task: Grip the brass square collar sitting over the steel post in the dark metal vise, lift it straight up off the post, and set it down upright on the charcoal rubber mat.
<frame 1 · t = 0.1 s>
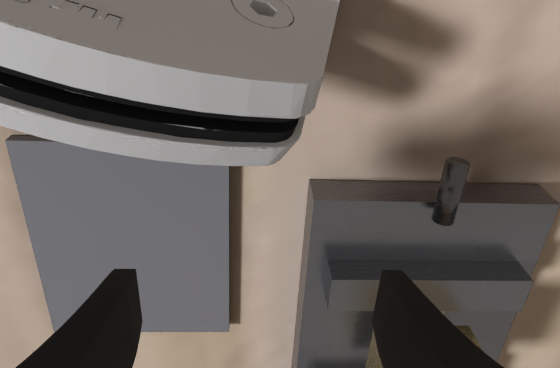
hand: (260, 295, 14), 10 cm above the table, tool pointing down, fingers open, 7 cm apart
mat: (134, 242, 25), on the table
collar: (412, 359, 25), point 3 cm above the table, touching vise
vise: (395, 311, 28), on the table
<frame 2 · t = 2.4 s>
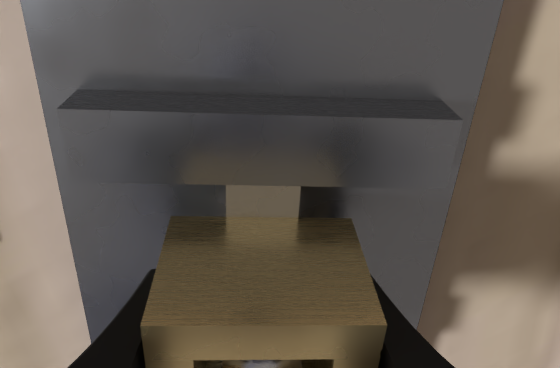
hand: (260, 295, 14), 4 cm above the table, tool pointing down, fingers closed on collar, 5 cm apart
collar: (259, 286, 14), point 3 cm above the table, touching gripper, vise
vise: (258, 221, 17), on the table
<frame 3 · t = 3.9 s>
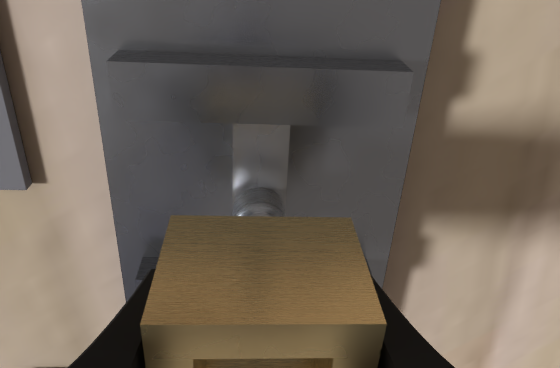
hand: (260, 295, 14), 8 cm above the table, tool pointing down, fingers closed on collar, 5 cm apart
collar: (259, 285, 14), point 8 cm above the table, touching gripper
vise: (258, 167, 21), on the table
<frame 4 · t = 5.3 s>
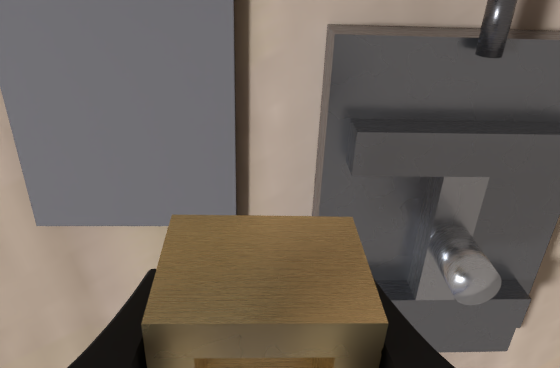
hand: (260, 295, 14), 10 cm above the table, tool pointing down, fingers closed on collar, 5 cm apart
mat: (125, 109, 21), on the table
collar: (260, 285, 14), point 10 cm above the table, touching gripper
vise: (425, 204, 25), on the table
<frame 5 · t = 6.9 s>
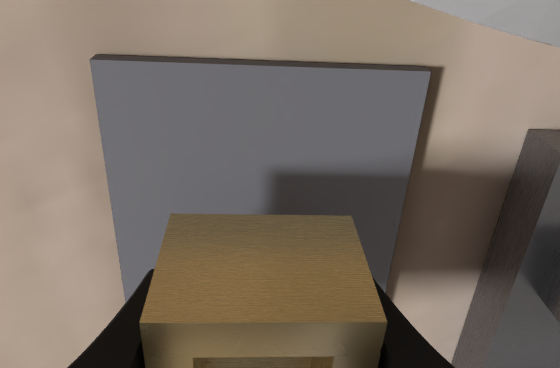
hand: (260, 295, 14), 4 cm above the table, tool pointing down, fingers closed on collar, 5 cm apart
mat: (258, 224, 17), on the table
collar: (259, 284, 14), point 3 cm above the table, touching gripper
when the fingers open (2 cm above the table, at t = 8.1 s): collar drops 1 cm, resting on mat.
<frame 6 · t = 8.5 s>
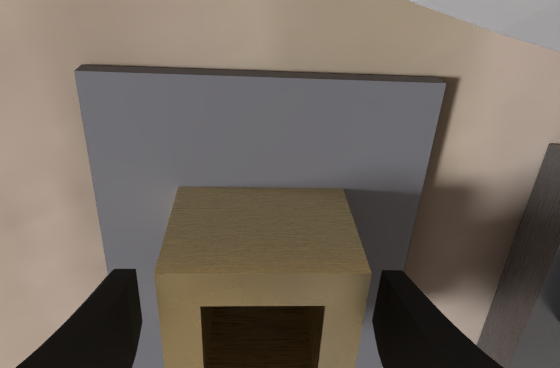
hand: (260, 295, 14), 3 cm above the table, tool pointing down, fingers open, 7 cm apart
mat: (259, 244, 16), on the table
collar: (259, 253, 15), point 1 cm above the table, touching mat
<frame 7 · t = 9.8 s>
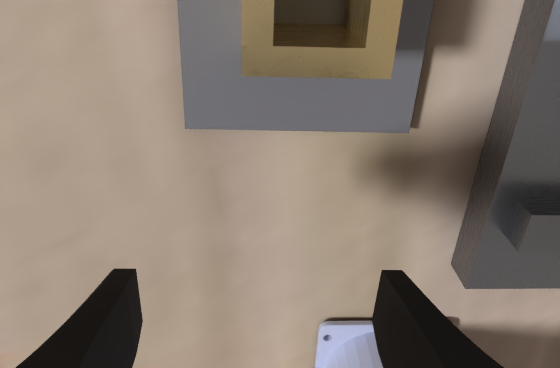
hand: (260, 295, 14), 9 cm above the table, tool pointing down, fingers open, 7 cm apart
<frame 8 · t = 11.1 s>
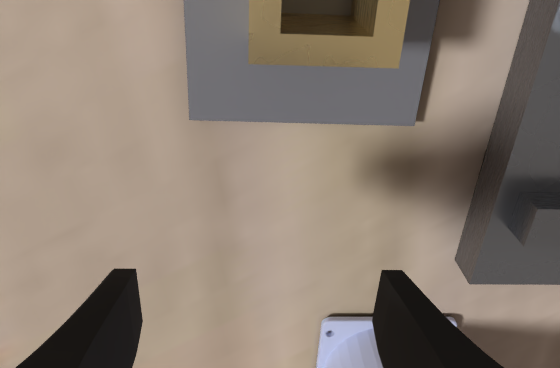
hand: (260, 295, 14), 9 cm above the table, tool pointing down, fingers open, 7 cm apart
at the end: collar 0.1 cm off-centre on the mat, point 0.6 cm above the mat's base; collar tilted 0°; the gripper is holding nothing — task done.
